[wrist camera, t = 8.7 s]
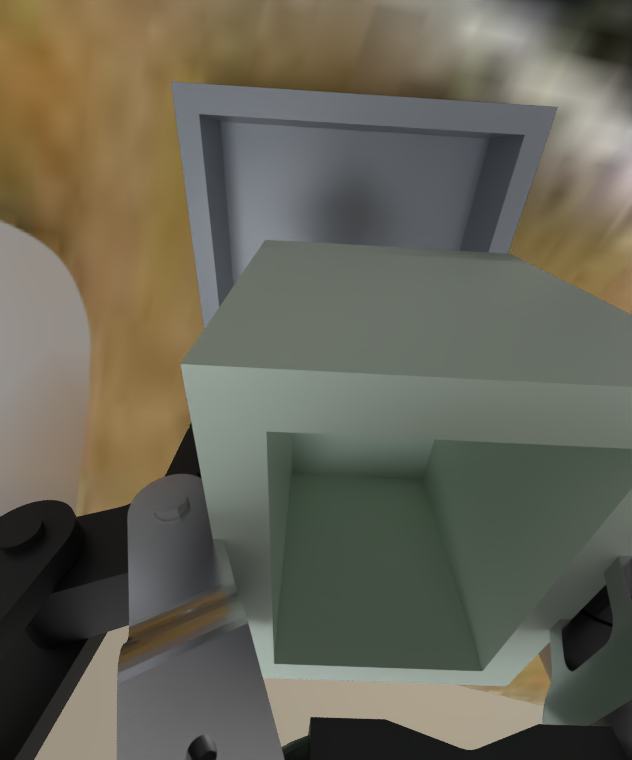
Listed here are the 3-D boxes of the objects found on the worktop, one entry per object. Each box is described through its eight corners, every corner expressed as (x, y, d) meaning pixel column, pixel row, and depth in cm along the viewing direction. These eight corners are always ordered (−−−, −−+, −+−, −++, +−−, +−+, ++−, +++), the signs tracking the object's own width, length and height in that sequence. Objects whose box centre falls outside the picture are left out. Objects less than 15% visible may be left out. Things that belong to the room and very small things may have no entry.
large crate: (508, 117, 18) (557, 107, 14) (435, 375, 27) (454, 411, 23) (202, 97, 18) (171, 81, 14) (228, 364, 27) (213, 399, 23)
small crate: (510, 253, 8) (790, 396, 3) (433, 477, 13) (506, 686, 8) (265, 239, 8) (180, 364, 3) (271, 470, 13) (238, 676, 8)
